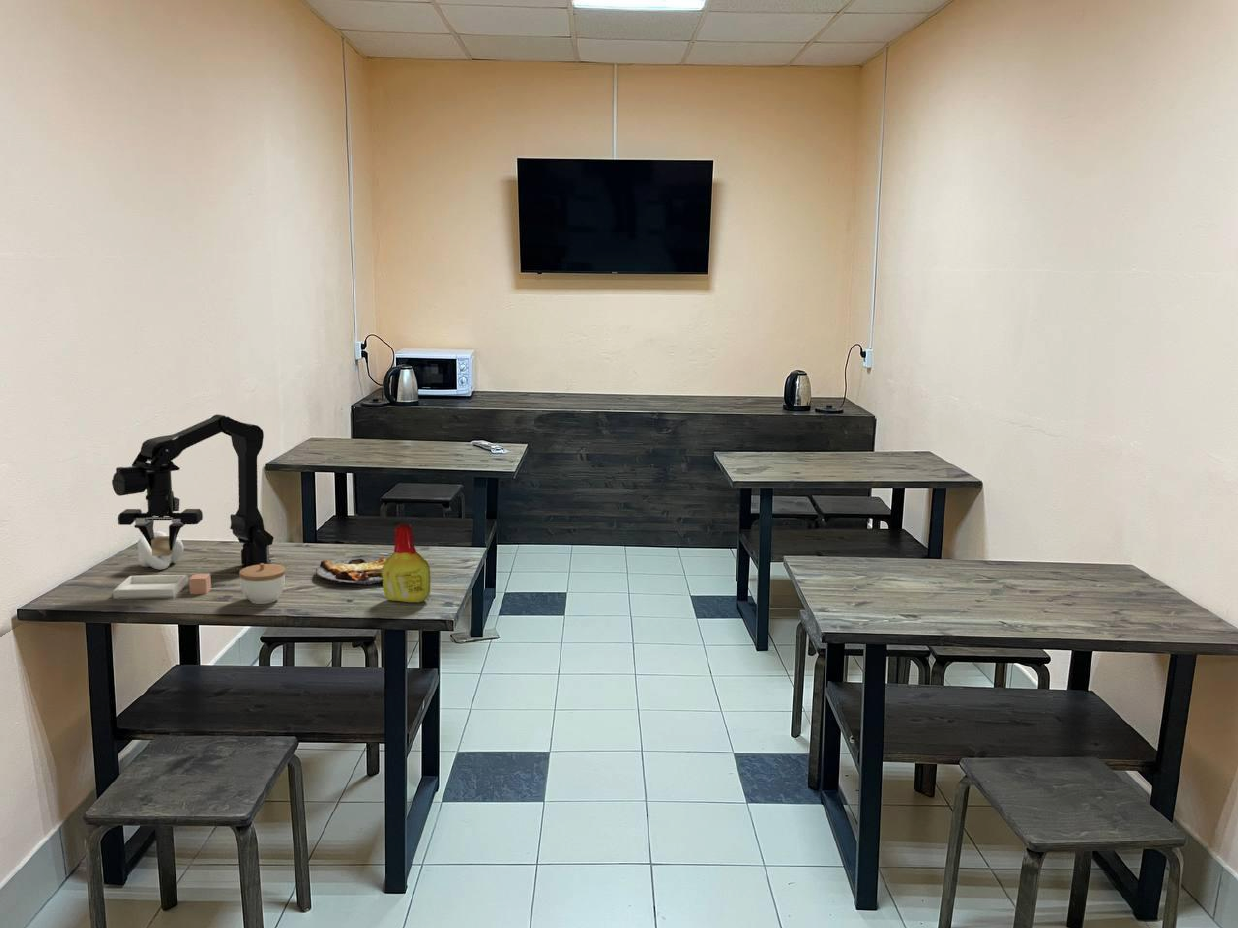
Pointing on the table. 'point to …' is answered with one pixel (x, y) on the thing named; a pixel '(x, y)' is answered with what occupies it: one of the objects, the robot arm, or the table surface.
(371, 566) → the food plate
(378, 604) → the table surface
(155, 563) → the white knot sculpture
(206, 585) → the terracotta block
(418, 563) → the bottle
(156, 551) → the beech block
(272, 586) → the lidded jar
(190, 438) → the robot arm
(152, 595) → the tray
